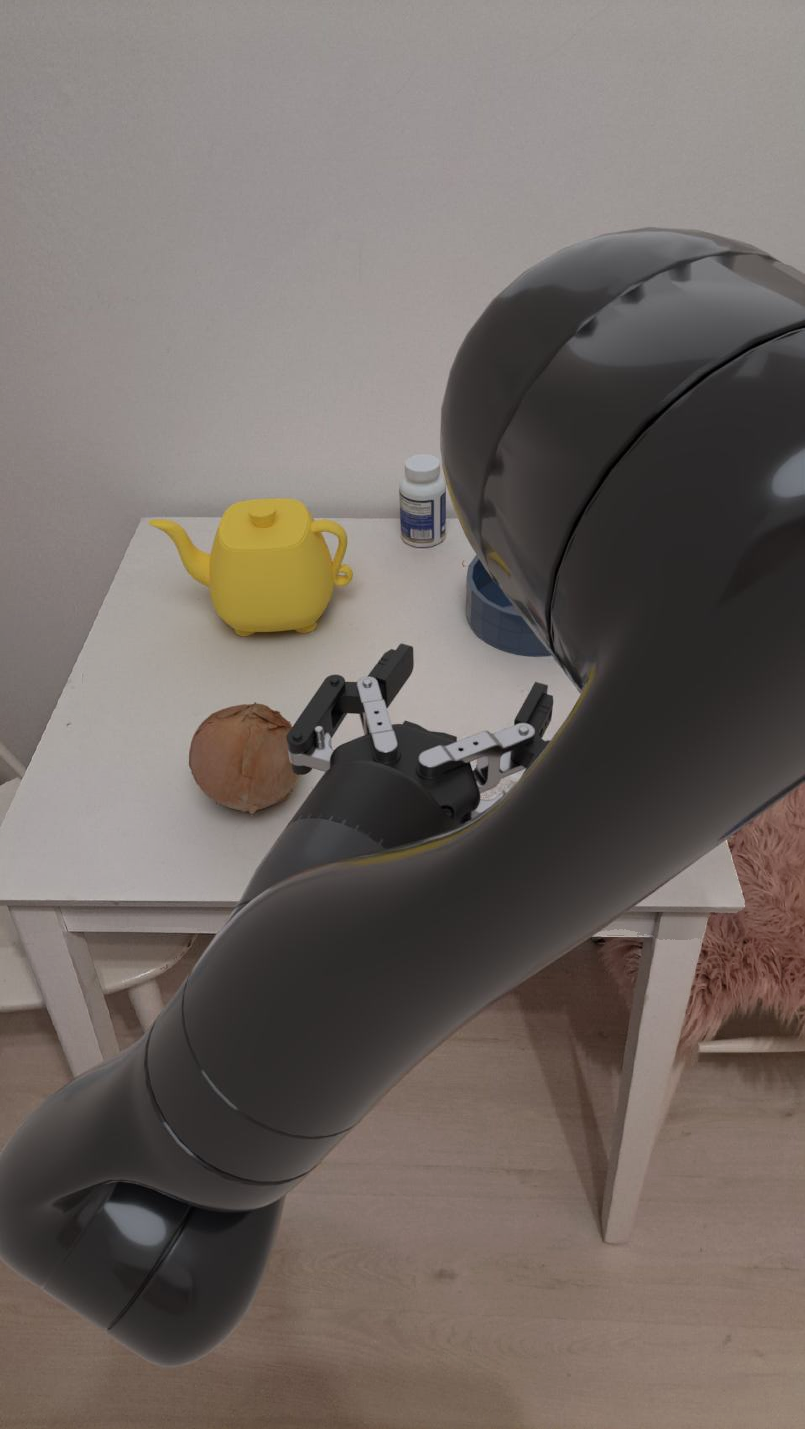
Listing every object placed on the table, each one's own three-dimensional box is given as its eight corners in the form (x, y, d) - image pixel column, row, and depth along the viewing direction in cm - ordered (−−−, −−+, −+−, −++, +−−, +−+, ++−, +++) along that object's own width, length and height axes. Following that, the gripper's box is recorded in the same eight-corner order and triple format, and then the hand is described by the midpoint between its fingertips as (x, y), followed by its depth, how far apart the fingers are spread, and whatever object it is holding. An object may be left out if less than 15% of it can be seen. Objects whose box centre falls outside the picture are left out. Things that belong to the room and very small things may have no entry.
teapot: (356, 644, 97) (348, 541, 88) (163, 655, 96) (136, 552, 87) (354, 568, 106) (346, 468, 98) (179, 577, 106) (156, 478, 97)
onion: (284, 786, 87) (313, 693, 82) (286, 845, 78) (318, 745, 74) (182, 765, 84) (207, 668, 80) (173, 824, 76) (200, 719, 72)
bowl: (615, 593, 102) (621, 554, 98) (575, 671, 93) (581, 632, 89) (494, 563, 106) (496, 526, 103) (445, 635, 97) (445, 596, 94)
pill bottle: (425, 519, 114) (424, 446, 107) (454, 537, 111) (456, 463, 104) (391, 535, 111) (388, 461, 104) (420, 554, 108) (419, 479, 101)
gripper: (485, 881, 40) (596, 657, 50) (208, 781, 44) (363, 594, 55) (479, 973, 45) (581, 752, 55) (232, 874, 50) (369, 688, 60)
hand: (472, 674), depth 55 cm, fingers open, 8 cm apart
